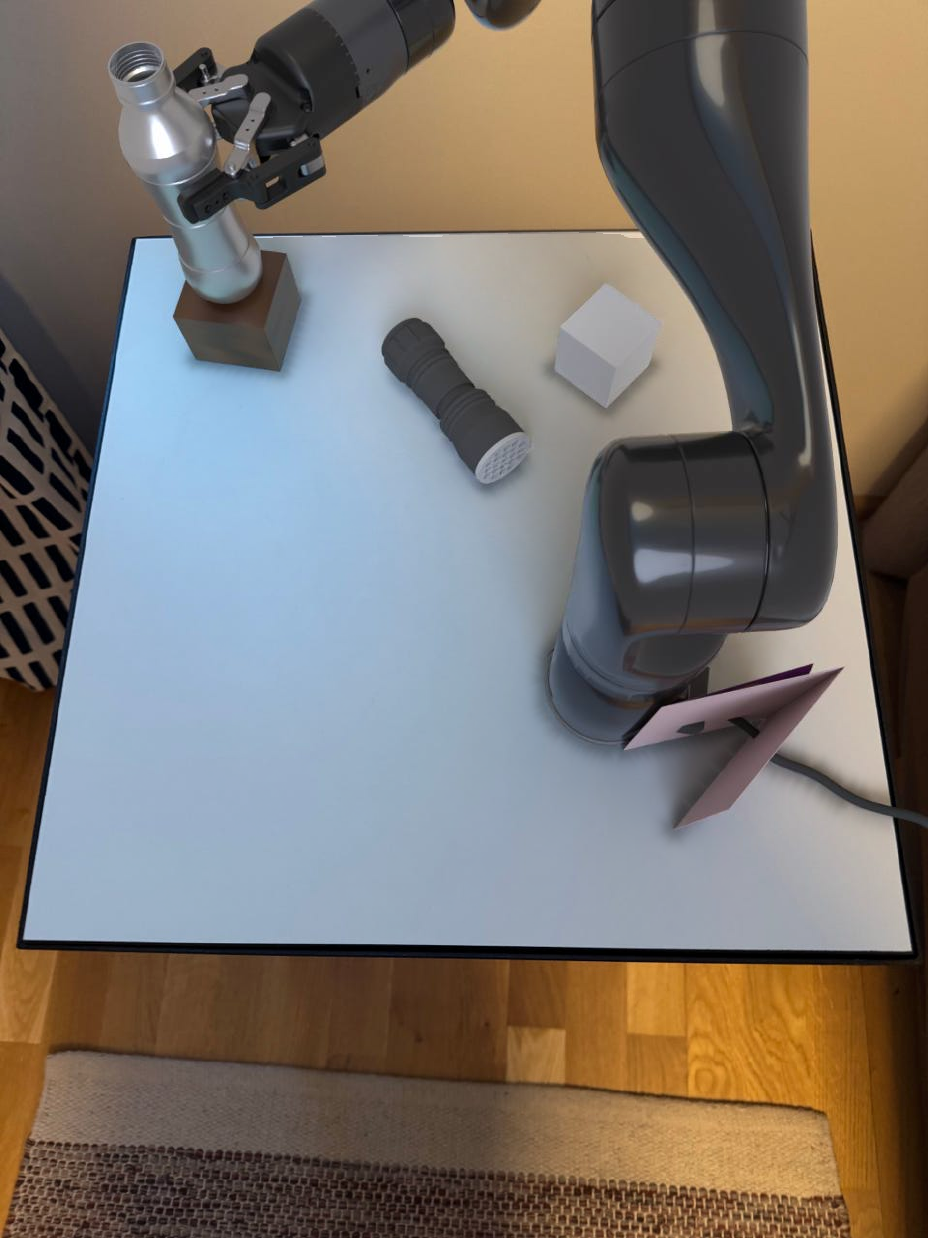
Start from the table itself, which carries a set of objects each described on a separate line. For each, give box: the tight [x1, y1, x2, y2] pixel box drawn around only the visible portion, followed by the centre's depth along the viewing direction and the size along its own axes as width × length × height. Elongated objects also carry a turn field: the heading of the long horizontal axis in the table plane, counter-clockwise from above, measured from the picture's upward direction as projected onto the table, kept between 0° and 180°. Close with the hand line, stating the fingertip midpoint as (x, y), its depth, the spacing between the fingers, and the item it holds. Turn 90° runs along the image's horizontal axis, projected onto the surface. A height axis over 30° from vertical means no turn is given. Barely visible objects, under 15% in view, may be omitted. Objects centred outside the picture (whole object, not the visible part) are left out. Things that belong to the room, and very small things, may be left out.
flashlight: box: [380, 317, 532, 485], centre depth 71 cm, size 15×5×5 cm, turn 36°
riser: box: [172, 249, 302, 372], centre depth 74 cm, size 8×8×6 cm
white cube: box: [554, 282, 663, 409], centre depth 72 cm, size 6×6×6 cm
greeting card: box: [622, 662, 846, 831], centre depth 56 cm, size 11×7×15 cm, turn 102°
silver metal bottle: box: [107, 40, 263, 304], centre depth 62 cm, size 6×7×20 cm
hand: (155, 185), depth 60 cm, fingers closed on silver metal bottle, 6 cm apart
